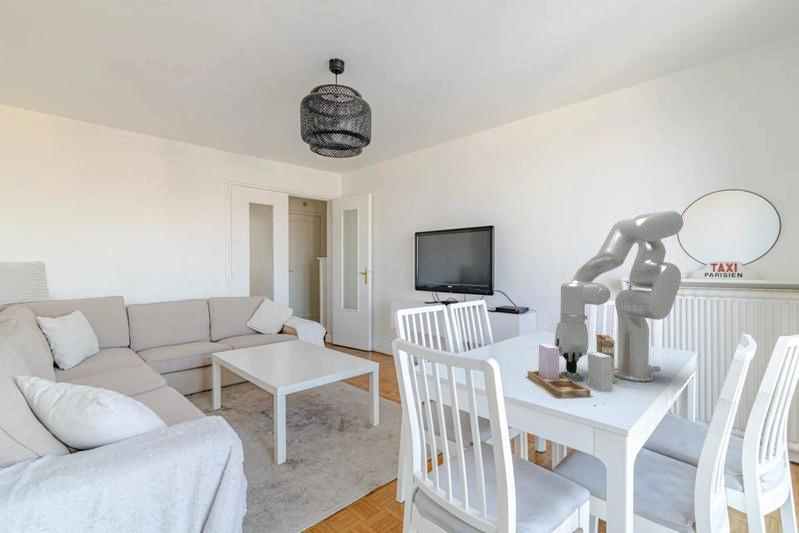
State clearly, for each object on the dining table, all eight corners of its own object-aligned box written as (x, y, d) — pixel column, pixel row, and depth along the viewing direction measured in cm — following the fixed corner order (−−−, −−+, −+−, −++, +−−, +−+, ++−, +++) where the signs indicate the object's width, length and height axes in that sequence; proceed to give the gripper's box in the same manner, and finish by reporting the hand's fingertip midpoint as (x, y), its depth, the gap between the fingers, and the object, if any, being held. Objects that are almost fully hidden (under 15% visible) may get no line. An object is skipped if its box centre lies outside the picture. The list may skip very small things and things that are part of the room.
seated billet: (549, 377, 127) (549, 343, 127) (558, 383, 121) (559, 347, 121) (538, 378, 127) (538, 343, 126) (547, 384, 121) (547, 348, 121)
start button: (573, 377, 128) (573, 370, 128) (578, 380, 125) (578, 373, 125) (565, 378, 127) (565, 370, 127) (570, 380, 124) (570, 373, 124)
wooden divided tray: (557, 379, 130) (557, 370, 130) (593, 400, 110) (593, 390, 110) (524, 380, 128) (525, 371, 128) (555, 402, 108) (555, 391, 108)
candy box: (614, 385, 124) (615, 340, 123) (600, 383, 125) (601, 339, 125) (608, 377, 132) (609, 335, 132) (595, 376, 133) (596, 334, 133)
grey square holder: (574, 379, 129) (574, 371, 129) (582, 384, 124) (583, 376, 124) (560, 380, 128) (560, 371, 128) (569, 385, 123) (569, 376, 123)
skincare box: (613, 394, 115) (613, 356, 115) (601, 395, 114) (601, 357, 114) (598, 387, 121) (599, 351, 121) (586, 388, 120) (587, 352, 120)
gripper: (585, 317, 130) (584, 368, 130) (546, 317, 128) (545, 369, 129) (599, 320, 123) (598, 375, 123) (557, 321, 121) (556, 376, 121)
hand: (571, 372), depth 126 cm, fingers closed
